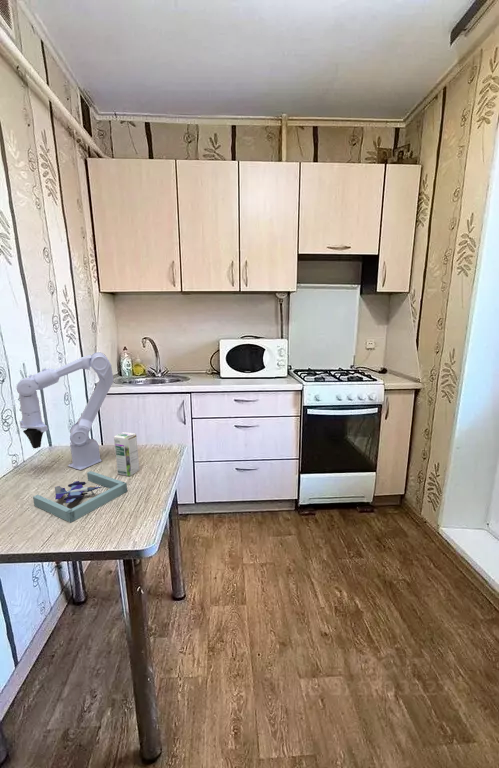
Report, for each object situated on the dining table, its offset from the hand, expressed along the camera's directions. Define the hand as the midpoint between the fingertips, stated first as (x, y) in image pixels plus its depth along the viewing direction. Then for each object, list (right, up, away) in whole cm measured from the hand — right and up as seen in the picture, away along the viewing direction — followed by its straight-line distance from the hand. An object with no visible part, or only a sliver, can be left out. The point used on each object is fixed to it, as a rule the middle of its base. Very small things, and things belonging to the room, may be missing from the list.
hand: (36, 447), depth 132 cm
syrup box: (+33, -9, +1) cm, 35 cm away
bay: (+24, -13, -17) cm, 32 cm away
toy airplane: (+23, -13, -17) cm, 32 cm away
